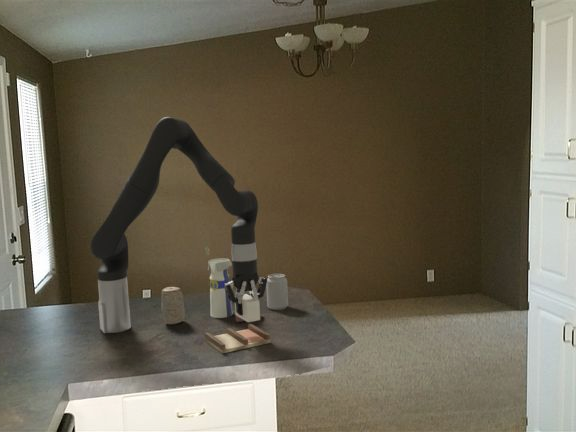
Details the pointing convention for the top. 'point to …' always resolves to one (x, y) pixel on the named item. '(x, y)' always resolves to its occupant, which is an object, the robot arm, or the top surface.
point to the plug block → (249, 308)
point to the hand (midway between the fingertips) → (247, 313)
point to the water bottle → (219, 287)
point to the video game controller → (239, 319)
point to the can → (277, 292)
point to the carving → (172, 305)
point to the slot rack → (238, 339)
